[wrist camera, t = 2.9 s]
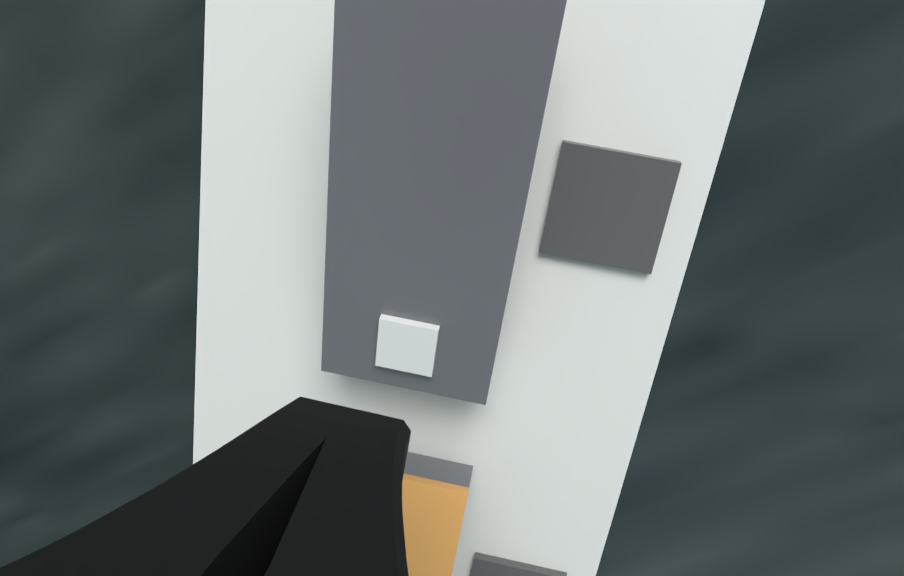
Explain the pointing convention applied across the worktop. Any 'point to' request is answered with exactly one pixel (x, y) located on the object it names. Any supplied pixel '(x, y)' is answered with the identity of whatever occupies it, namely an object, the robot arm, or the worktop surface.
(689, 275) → the worktop surface
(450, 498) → the orange flat bar
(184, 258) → the worktop surface
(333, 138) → the grey block
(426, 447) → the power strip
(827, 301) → the worktop surface
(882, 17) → the worktop surface
